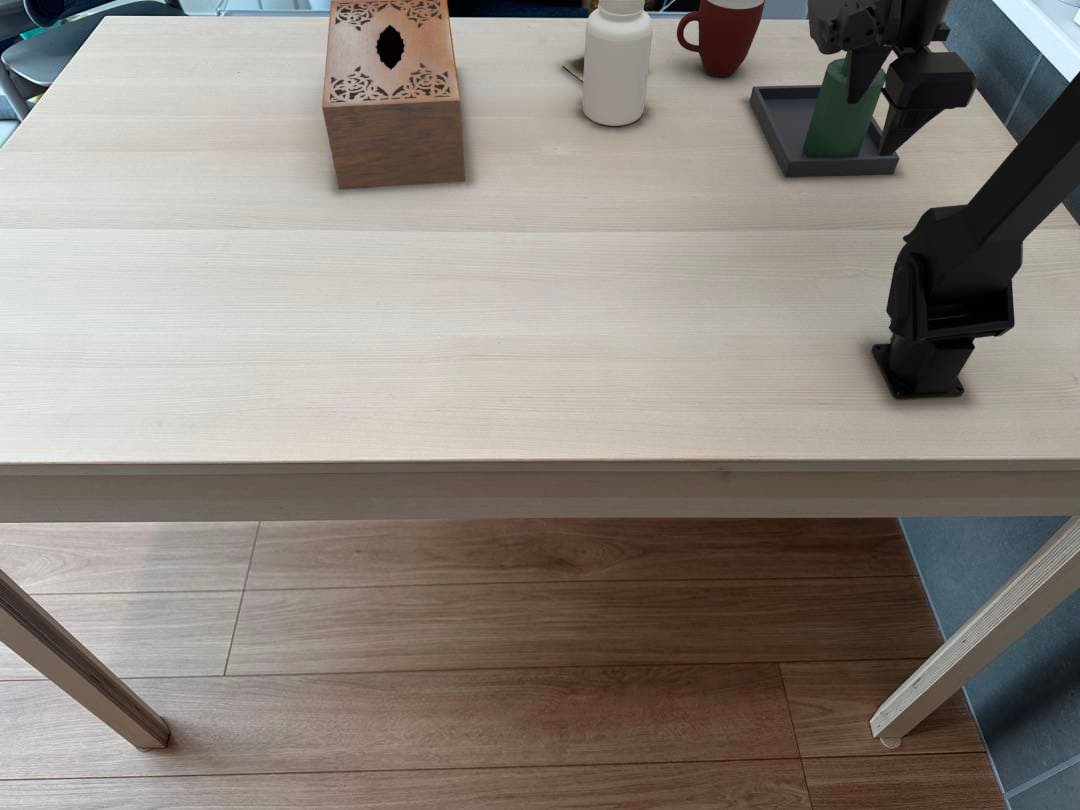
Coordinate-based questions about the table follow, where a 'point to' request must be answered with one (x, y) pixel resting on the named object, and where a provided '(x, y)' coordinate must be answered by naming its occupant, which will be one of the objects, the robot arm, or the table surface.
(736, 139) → the table surface
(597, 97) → the pill bottle
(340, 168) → the tissue box cover
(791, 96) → the tray
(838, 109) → the bottle
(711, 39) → the mug
